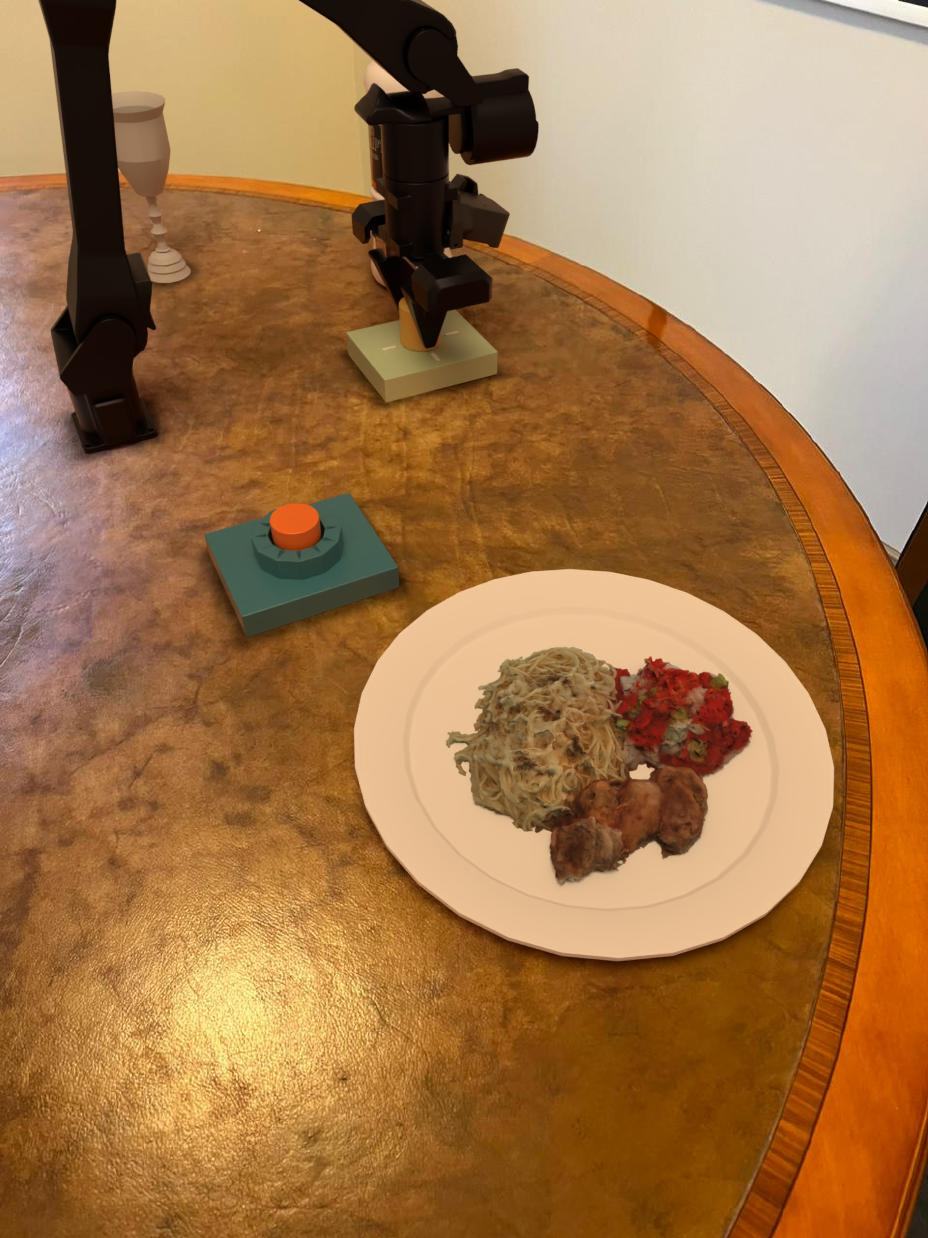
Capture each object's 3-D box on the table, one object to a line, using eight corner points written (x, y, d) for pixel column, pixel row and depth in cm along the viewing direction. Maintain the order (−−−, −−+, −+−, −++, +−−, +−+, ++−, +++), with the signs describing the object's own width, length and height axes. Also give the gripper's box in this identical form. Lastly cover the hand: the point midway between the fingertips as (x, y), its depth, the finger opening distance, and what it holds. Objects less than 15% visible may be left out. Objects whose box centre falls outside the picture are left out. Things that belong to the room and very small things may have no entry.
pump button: (266, 528, 70) (263, 510, 69) (311, 515, 71) (309, 497, 70) (281, 557, 68) (278, 539, 66) (328, 543, 69) (326, 525, 68)
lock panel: (347, 354, 95) (345, 330, 93) (453, 329, 99) (453, 305, 97) (385, 403, 88) (384, 378, 87) (497, 374, 92) (498, 349, 90)
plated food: (260, 746, 60) (252, 713, 58) (561, 534, 75) (565, 501, 73) (629, 1098, 45) (638, 1074, 43) (912, 747, 60) (931, 714, 58)
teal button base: (209, 555, 73) (199, 515, 70) (351, 513, 77) (347, 473, 74) (246, 638, 67) (237, 598, 64) (399, 588, 71) (397, 548, 68)
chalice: (124, 281, 106) (78, 108, 93) (155, 256, 110) (115, 88, 97) (182, 290, 104) (143, 115, 91) (210, 264, 109) (178, 95, 96)
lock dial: (394, 336, 92) (392, 295, 89) (430, 327, 94) (429, 286, 90) (410, 354, 90) (408, 313, 87) (447, 345, 91) (447, 304, 88)
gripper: (551, 193, 77) (538, 363, 88) (453, 124, 89) (453, 281, 100) (428, 217, 73) (432, 390, 85) (343, 141, 85) (356, 302, 96)
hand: (420, 336), depth 91 cm, fingers closed on lock dial, 4 cm apart
